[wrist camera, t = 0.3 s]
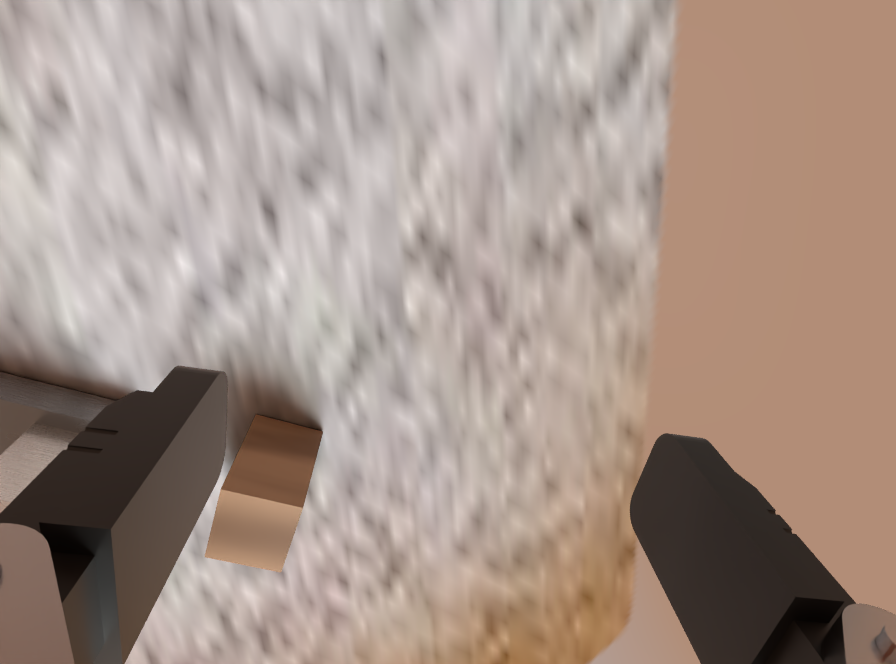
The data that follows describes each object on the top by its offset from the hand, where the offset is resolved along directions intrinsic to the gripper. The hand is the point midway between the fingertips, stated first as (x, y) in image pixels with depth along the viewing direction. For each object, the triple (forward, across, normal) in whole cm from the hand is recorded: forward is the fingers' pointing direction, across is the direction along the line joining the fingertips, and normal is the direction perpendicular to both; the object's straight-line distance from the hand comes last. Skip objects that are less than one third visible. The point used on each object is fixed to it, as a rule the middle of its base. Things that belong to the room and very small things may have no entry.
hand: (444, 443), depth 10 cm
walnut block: (+19, +6, +16) cm, 25 cm away
